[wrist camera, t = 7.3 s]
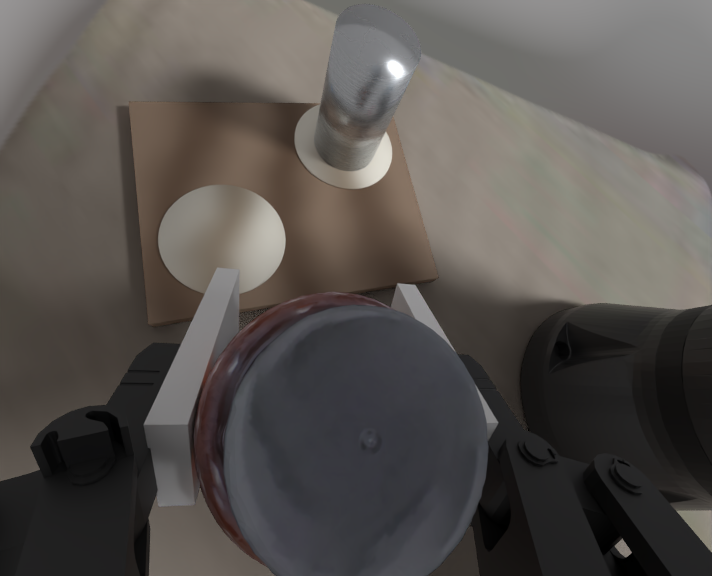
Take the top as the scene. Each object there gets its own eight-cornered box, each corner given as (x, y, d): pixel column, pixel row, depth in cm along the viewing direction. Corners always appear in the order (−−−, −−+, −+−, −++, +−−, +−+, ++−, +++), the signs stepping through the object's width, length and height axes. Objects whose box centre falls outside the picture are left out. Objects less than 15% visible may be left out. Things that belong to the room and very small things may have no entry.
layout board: (385, 112, 30) (390, 102, 29) (432, 281, 27) (439, 276, 26) (133, 112, 25) (127, 99, 23) (153, 326, 21) (147, 323, 20)
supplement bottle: (391, 382, 17) (601, 384, 6) (320, 502, 14) (448, 835, 4) (291, 311, 16) (324, 179, 6) (205, 421, 14) (6, 538, 4)
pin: (366, 118, 28) (408, 8, 20) (380, 171, 27) (430, 77, 19) (308, 119, 27) (327, -1, 19) (320, 174, 26) (346, 74, 18)
